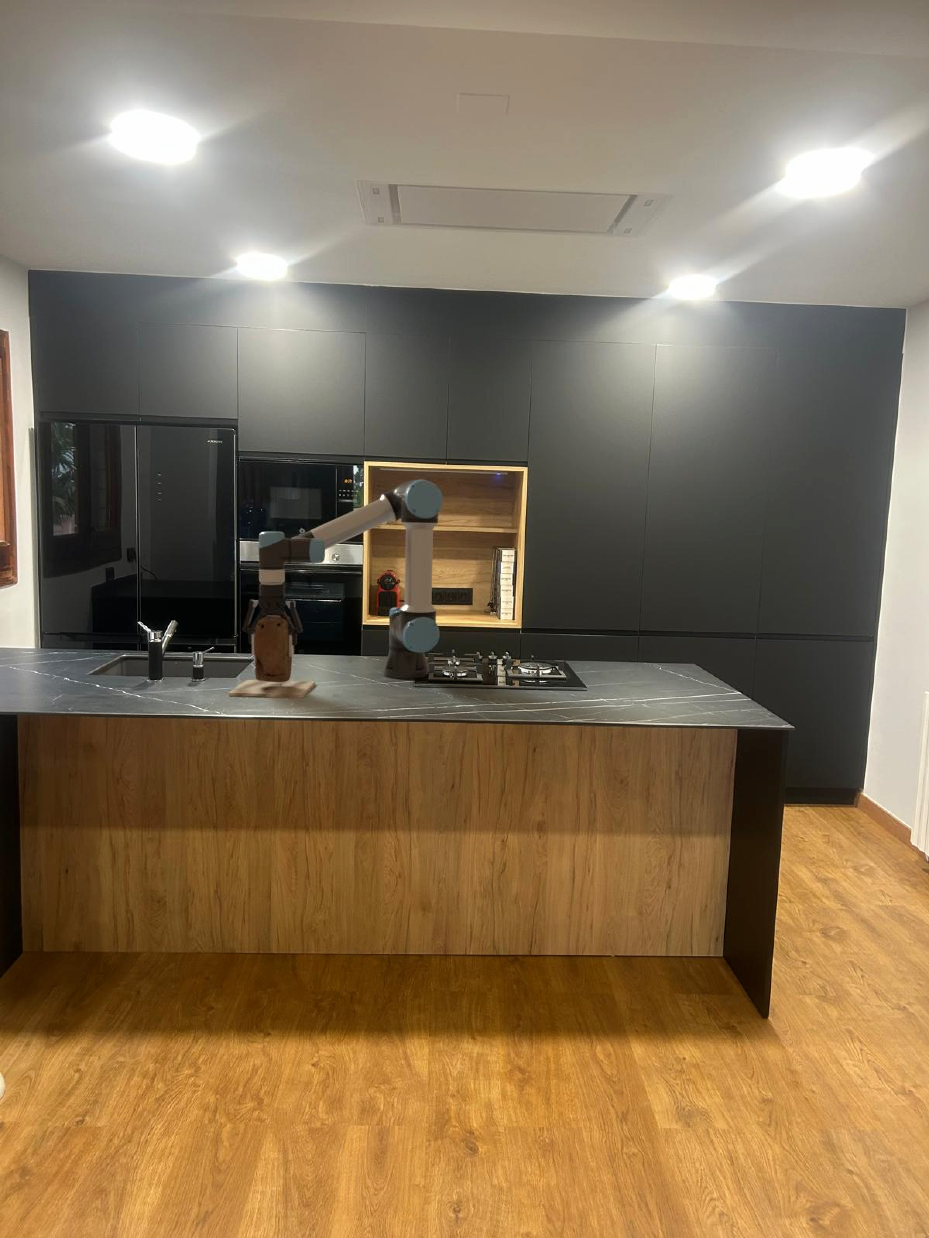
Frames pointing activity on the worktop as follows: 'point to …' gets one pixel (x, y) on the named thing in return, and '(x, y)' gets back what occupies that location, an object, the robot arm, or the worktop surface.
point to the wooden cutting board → (273, 689)
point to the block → (272, 649)
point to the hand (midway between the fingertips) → (272, 655)
